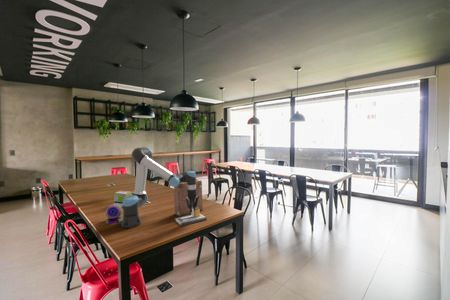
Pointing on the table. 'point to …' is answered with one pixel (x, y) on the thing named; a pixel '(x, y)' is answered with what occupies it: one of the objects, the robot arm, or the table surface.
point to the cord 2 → (193, 221)
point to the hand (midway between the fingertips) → (192, 215)
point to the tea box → (120, 197)
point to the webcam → (114, 213)
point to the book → (182, 193)
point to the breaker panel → (188, 219)
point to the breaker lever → (197, 212)
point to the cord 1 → (181, 216)
